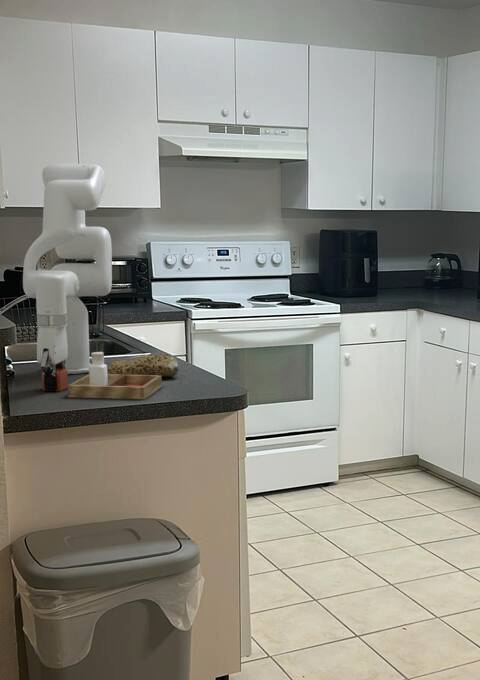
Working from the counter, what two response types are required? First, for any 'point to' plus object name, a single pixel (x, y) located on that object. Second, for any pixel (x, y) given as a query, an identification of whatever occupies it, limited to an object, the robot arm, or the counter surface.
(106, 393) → the tray
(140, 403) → the counter surface
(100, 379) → the salt shaker
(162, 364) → the sponge
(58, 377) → the clay block
